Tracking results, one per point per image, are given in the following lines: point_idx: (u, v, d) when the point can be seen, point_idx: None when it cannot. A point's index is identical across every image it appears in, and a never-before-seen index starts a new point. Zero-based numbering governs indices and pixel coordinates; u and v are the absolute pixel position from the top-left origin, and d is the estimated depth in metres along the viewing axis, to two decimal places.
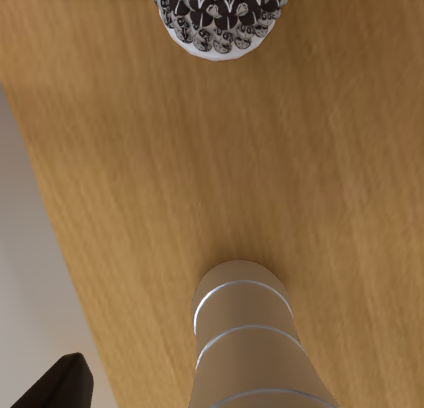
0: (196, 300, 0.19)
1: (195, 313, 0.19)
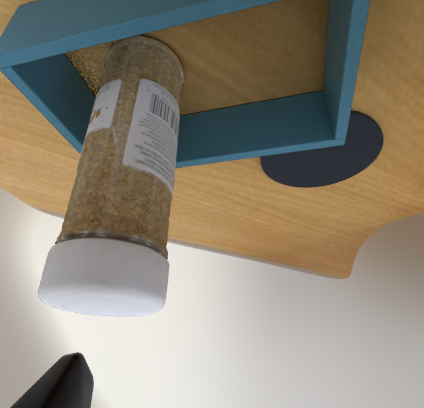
0: None
1: None
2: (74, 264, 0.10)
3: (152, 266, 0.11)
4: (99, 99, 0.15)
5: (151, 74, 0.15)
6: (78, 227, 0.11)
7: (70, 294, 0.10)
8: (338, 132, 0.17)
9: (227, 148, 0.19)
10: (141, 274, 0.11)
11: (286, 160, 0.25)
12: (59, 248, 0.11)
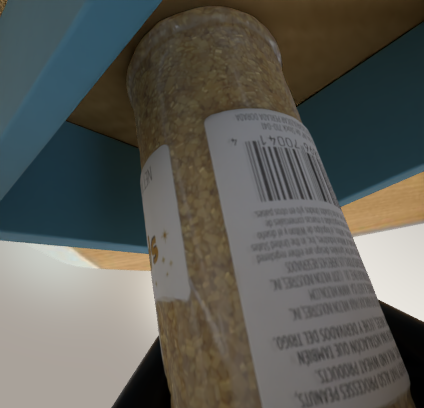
0: None
1: None
2: None
3: None
4: (146, 207, 0.07)
5: (220, 94, 0.06)
6: None
7: None
8: None
9: None
10: None
11: None
12: None
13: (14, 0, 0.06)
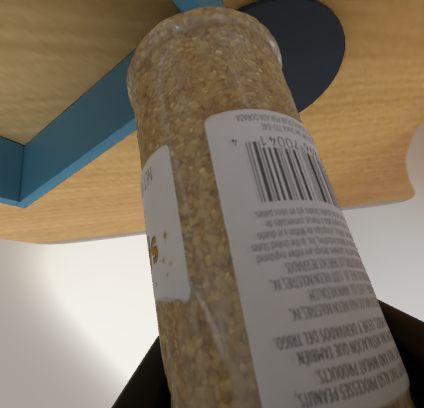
0: None
1: None
2: None
3: None
4: (146, 207, 0.07)
5: (220, 94, 0.06)
6: None
7: None
8: None
9: (111, 126, 0.15)
10: None
11: None
12: None
13: None
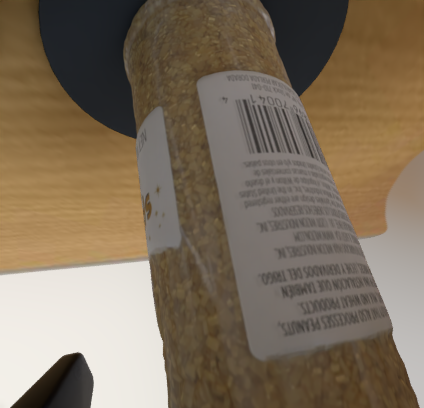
0: None
1: None
2: None
3: None
4: (140, 169, 0.07)
5: (212, 57, 0.06)
6: None
7: None
8: None
9: None
10: None
11: None
12: None
13: None
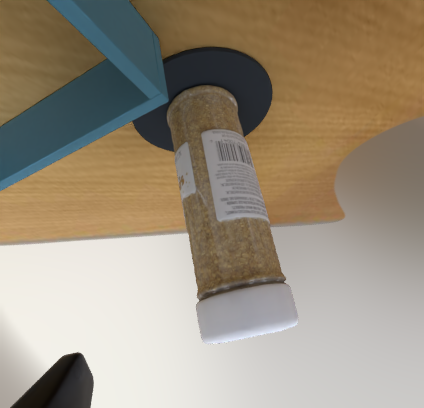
0: None
1: None
2: (217, 318, 0.13)
3: (275, 299, 0.13)
4: (178, 166, 0.17)
5: (207, 123, 0.17)
6: (208, 286, 0.14)
7: (223, 340, 0.13)
8: (145, 90, 0.13)
9: (50, 146, 0.16)
10: (268, 310, 0.13)
11: None
12: (202, 307, 0.14)
13: None
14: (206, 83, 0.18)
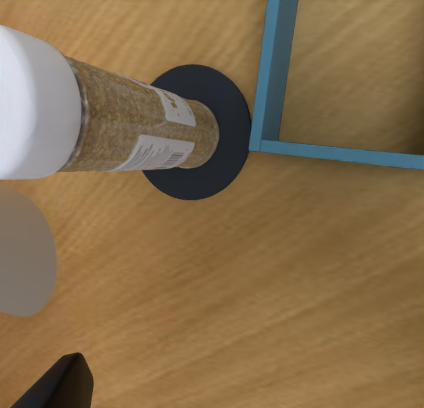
0: None
1: None
2: (56, 93, 0.09)
3: (42, 170, 0.10)
4: (182, 104, 0.16)
5: (195, 149, 0.18)
6: (87, 92, 0.10)
7: (16, 82, 0.08)
8: (271, 143, 0.15)
9: (280, 12, 0.15)
10: (38, 163, 0.09)
11: (189, 96, 0.21)
12: (67, 70, 0.09)
13: None
14: None
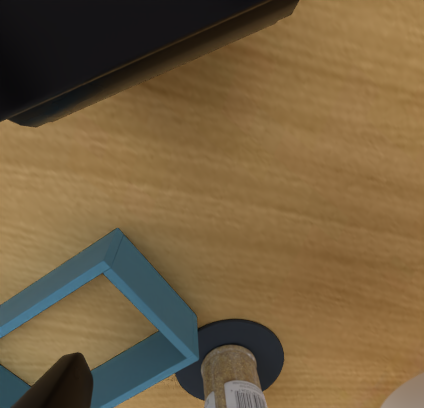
0: None
1: None
2: None
3: None
4: None
5: (229, 375, 0.22)
6: None
7: None
8: (183, 352, 0.20)
9: (113, 393, 0.21)
10: None
11: None
12: None
13: None
14: (230, 343, 0.25)
